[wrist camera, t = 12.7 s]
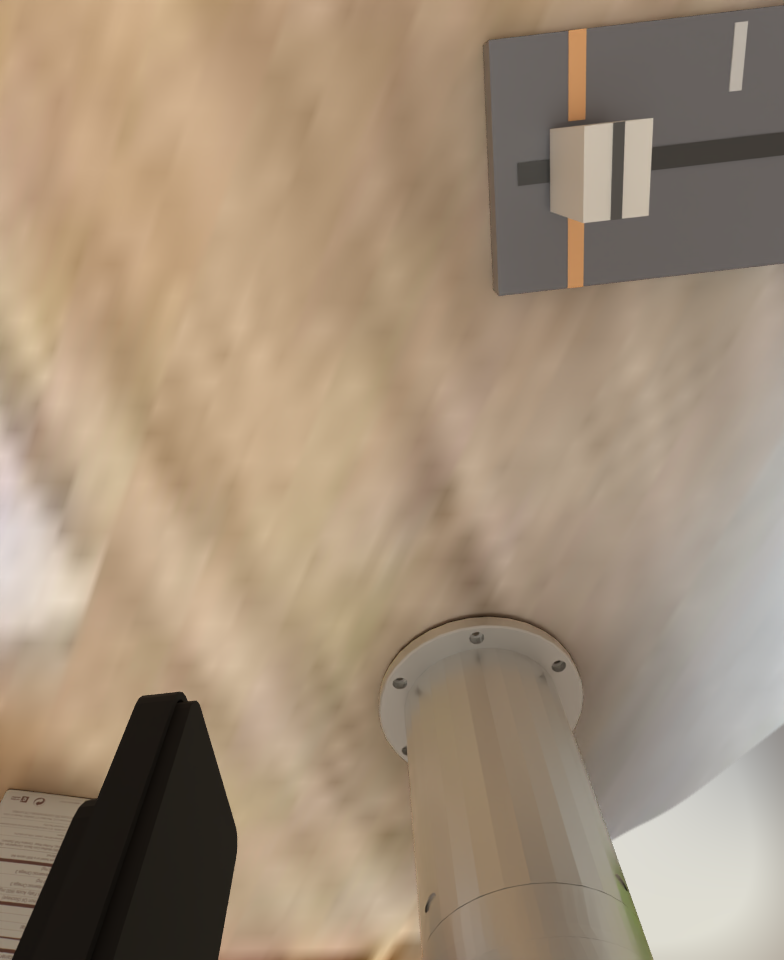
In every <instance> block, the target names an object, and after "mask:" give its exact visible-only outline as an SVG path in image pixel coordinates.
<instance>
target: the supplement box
mask: <svg viewBox="0 0 784 960" xmlns="http://www.w3.org/2000/svg"><path fill="white" fill-rule="evenodd" d="M87 800H91V799H86V798H78V797H70V796H62V795H55V794H47V793H38V792H30V791H21V790H7V792H6V793H5V795H4V797H3V799H2V801H1V802H0V960H12V958H13V955H14V953H15V951H16V948H17V946H18V944H19V941H20V939H21V937H22V934H23V932H24V930H25V927H26V925H27V923H28V920H29V918H30V916H31V914H32V911H33V909H34V907H35V904H36V902H37V900H38V897H39V895H40V893H41V890H42V888H43V886H44V883H45V881H46V879H47V876H48V874H49V872H50V869H51V867H52V865H53V863H54V860H55V858H56V856H57V853H58V851H59V849H60V846H61V844H62V842H63V839H64V837H65V835H66V832H67V830H68V828H69V825H70V823H71V821H72V818H73V817H74V815H75V813H76V811H77V809H78V808H79V807H80V806H81V805H82V804H83V803H84V802H85V801H87Z"/></svg>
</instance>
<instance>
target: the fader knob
mask: <svg viewBox="0 0 784 960" xmlns="http://www.w3.org/2000/svg"><path fill="white" fill-rule="evenodd" d="M652 136H653V118H647V119H637V120H626V121H615V122H605V123H597V124H588V125H580V126H571V127H563V128H554V129H550V212H553V213H556V214H559V215H561V216H564V217H567V218H570V219H573V220H576V221H578V222H581V223H589V222H598V221H607V220H618V219H624V218H633V217H641V216H649V197H650V177H651V156H652Z"/></svg>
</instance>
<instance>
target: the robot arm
mask: <svg viewBox="0 0 784 960" xmlns="http://www.w3.org/2000/svg"><path fill="white" fill-rule="evenodd" d="M582 704H583V690H582V682H581V679H580V677H579V674H578V671H577V668H576V666H575V664H574V662H573V660H572V658H571V656H570V655H569V653H568V652H567V651H566V649H565V648H564V647H563V646H562V645H561V644H560V643H559V642H558V641H557V640H556V639H555V638H553V637H552V636H550V635H549V634H548V633H546V632H545V631H543V630H541V629H539V628H537V627H535V626H532V625H530V624H528V623H524V622H521V621H517V620H513V619H509V618H498V617H478V618H467V619H463V620H459V621H454V622H450V623H447V624H444V625H442V626H439V627H437V628H434V629H432V630H430V631H428V632H426V633H425V634H423V635H421V636H420V637H418V638H416V639H415V640H413V641H412V642H411V643H410V644H409V645H408V646H406V647H405V648H404V649H403V650H402V651H401V652H400V653H399V654H398V655H397V657H396V658H395V659H394V660H393V662H392V663H391V664H390V666H389V668H388V670H387V672H386V674H385V676H384V678H383V680H382V684H381V688H380V693H379V716H380V723H381V728H382V730H383V732H384V735H385V737H386V740H387V741H388V743H389V744H390V745H391V747H392V748H393V749H394V751H395V752H396V753H397V754H398V755H399V756H400V757H401V758H403V759H404V760H405V761H406V762H407V763H408V771H409V785H410V798H411V812H412V826H413V839H414V853H415V867H416V881H417V894H418V908H419V922H420V935H421V949H422V960H653V957H652V954H651V952H650V949H649V946H648V943H647V940H646V938H645V935H644V932H643V929H642V926H641V924H640V921H639V918H638V915H637V912H636V909H635V907H634V904H633V901H632V898H631V895H630V893H629V890H628V887H627V884H626V881H625V879H624V876H623V873H622V870H621V867H620V865H619V862H618V859H617V856H616V853H615V851H614V848H613V845H612V842H611V839H610V836H609V834H608V831H607V828H606V825H605V822H604V820H603V817H602V814H601V811H600V808H599V806H598V803H597V800H596V797H595V794H594V792H593V789H592V786H591V783H590V780H589V778H588V775H587V772H586V769H585V766H584V764H583V761H582V758H581V755H580V752H579V750H578V747H577V744H576V741H575V738H574V736H573V733H572V732H573V730H574V729H575V727H576V725H577V722H578V720H579V717H580V714H581V711H582ZM236 854H237V831H236V826H235V823H234V819H233V816H232V812H231V809H230V806H229V802H228V799H227V796H226V792H225V789H224V785H223V782H222V779H221V775H220V772H219V768H218V765H217V762H216V758H215V755H214V751H213V748H212V745H211V741H210V738H209V734H208V731H207V728H206V724H205V721H204V717H203V714H202V711H201V707H200V705H199V703H198V702H197V701H187V698H186V696H185V695H184V693H183V692H173V693H164V694H155V695H146V696H142V697H140V698H139V699H138V701H137V703H136V705H135V707H134V710H133V712H132V715H131V717H130V720H129V722H128V724H127V727H126V729H125V732H124V734H123V737H122V739H121V742H120V744H119V747H118V749H117V752H116V754H115V756H114V759H113V761H112V764H111V766H110V769H109V771H108V774H107V776H106V779H105V781H104V784H103V786H102V788H101V791H100V793H99V796H98V798H97V799H91V800H87V801H85V802H84V803H83V804H82V805H81V806H80V807H79V808H78V809H77V811H76V813H75V815H74V817H73V818H72V821H71V823H70V825H69V828H68V830H67V832H66V835H65V837H64V839H63V842H62V844H61V846H60V849H59V851H58V853H57V856H56V858H55V860H54V863H53V865H52V867H51V869H50V872H49V874H48V876H47V879H46V881H45V883H44V886H43V888H42V890H41V893H40V895H39V897H38V900H37V902H36V904H35V907H34V909H33V911H32V914H31V916H30V918H29V920H28V923H27V925H26V927H25V930H24V932H23V934H22V937H21V939H20V941H19V944H18V946H17V948H16V951H15V953H14V955H13V958H12V960H218V956H219V951H220V945H221V939H222V934H223V928H224V923H225V917H226V911H227V906H228V900H229V894H230V889H231V883H232V878H233V872H234V866H235V861H236Z"/></svg>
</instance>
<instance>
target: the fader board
mask: <svg viewBox="0 0 784 960" xmlns="http://www.w3.org/2000/svg"><path fill="white" fill-rule="evenodd" d="M483 59H484V83H485V107H486V130H487V154H488V178H489V201H490V225H491V249H492V272H493V290H494V291H495V292H496V293H497V295H498V296H503V295H512V294H521V293H529V292H538V291H547V290H555V289H564V288H576V287H583V286H590V285H599V284H608V283H617V282H625V281H634V280H643V279H652V278H660V277H669V276H678V275H686V274H695V273H704V272H713V271H721V270H730V269H739V268H748V267H756V266H765V265H774V264H783V263H784V5H781V6H773V7H764V8H756V9H747V10H739V11H731V12H722V13H714V14H705V15H697V16H688V17H680V18H672V19H663V20H655V21H646V22H638V23H630V24H621V25H613V26H604V27H596V28H586V29H577V30H569V31H562V32H554V33H545V34H537V35H529V36H520V37H512V38H503V39H495V40H488V41H487V42H486V43H485V44H484V45H483ZM647 118H653V136H652V156H651V177H650V197H649V216H641V217H633V218H624V219H618V220H607V221H598V222H589V223H581V222H578V221H576V220H573V219H570V218H567V217H564V216H561V215H559V214H556V213H553V212H550V129H554V128H563V127H571V126H580V125H588V124H597V123H605V122H615V121H626V120H637V119H647Z"/></svg>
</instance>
